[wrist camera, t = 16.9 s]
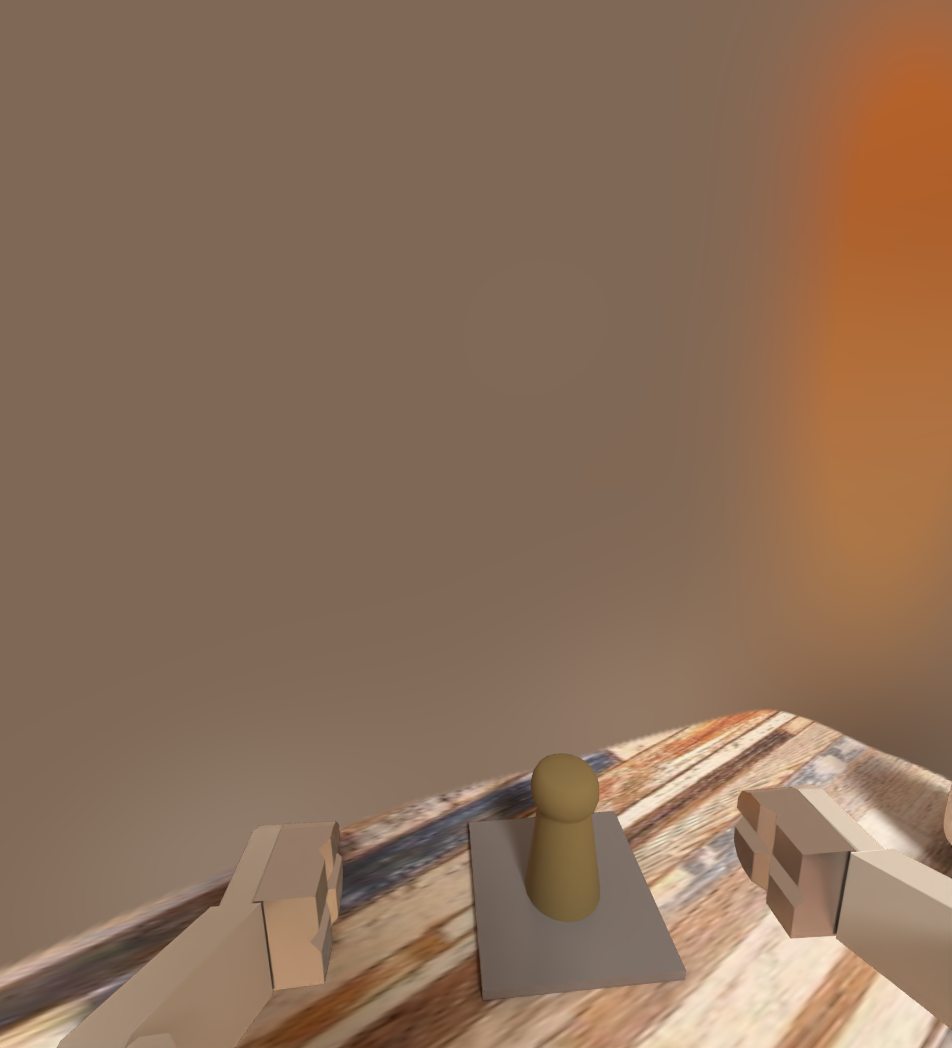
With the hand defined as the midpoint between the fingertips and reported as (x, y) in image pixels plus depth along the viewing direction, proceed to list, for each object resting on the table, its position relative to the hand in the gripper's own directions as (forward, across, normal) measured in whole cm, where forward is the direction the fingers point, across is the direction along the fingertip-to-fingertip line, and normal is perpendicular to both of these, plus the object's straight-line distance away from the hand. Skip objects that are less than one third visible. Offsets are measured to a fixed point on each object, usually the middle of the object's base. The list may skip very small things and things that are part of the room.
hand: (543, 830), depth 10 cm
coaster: (+24, -7, +30) cm, 39 cm away
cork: (+24, -7, +29) cm, 39 cm away
